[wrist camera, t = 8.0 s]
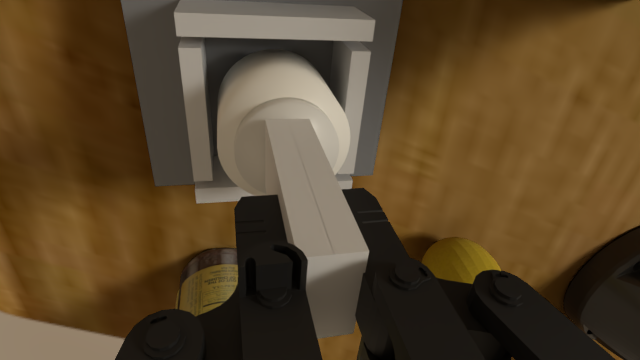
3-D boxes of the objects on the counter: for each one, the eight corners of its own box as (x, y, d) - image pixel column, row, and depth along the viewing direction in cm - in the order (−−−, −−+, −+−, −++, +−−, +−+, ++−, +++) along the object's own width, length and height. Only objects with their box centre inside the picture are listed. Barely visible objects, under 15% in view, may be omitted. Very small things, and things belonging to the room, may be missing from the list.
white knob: (322, 150, 20) (346, 204, 16) (221, 154, 19) (221, 212, 15) (331, 50, 17) (363, 86, 13) (213, 47, 16) (211, 86, 12)
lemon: (396, 237, 31) (444, 322, 24) (461, 206, 30) (527, 284, 24) (415, 277, 34) (461, 362, 27) (473, 249, 33) (535, 329, 27)
